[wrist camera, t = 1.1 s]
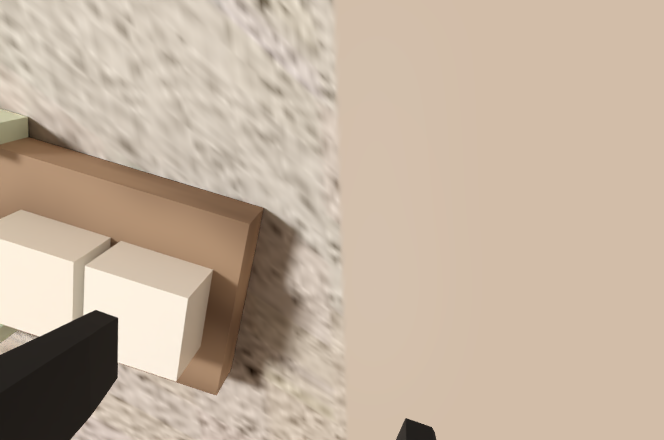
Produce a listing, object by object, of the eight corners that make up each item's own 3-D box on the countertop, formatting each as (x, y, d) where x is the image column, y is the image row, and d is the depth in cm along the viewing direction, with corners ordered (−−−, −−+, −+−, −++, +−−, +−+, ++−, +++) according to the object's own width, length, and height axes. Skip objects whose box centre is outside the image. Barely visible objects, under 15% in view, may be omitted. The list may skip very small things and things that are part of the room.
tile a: (200, 346, 22) (176, 381, 20) (115, 319, 23) (82, 350, 20) (213, 269, 21) (188, 298, 18) (120, 240, 21) (84, 265, 19)
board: (231, 369, 25) (216, 395, 24) (32, 304, 26) (3, 325, 24) (263, 208, 21) (249, 223, 20) (28, 136, 22) (-7, 146, 20)
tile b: (106, 316, 23) (72, 347, 20) (23, 289, 23) (-20, 317, 21) (110, 237, 21) (73, 262, 19) (21, 209, 21) (-27, 230, 19)
